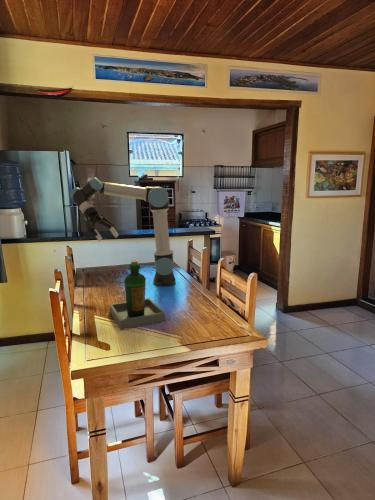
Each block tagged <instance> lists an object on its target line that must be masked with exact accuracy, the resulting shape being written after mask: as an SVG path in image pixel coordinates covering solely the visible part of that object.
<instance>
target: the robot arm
mask: <svg viewBox="0 0 375 500" xmlns="http://www.w3.org/2000/svg"><path fill="white" fill-rule="evenodd" d="M95 194H98V195H99V194H100V195H108V196H115V197H123V198H129V199H136V200H137V199H138V200H144V201H145V202H148V204H149V205H148V206H149V210H150V212H152V219H153V229H154V230H153V231H154V239H155V251H154V253H153V254H154V255H153V257H154V270H155V274H154V277H153V284H154V285H155V286H159V287H163V286H164V287H169V286H173V285H175V284H176V282H177V281H176V276H175V274H174V269H175V263H174V252H173V251H174V250H172V249H171V247H170V245H171V244H170V235H169V224H168V210H169V209H170V201H169V193H168V190H167V189H166V188H164V187H163V186H148V185H147V186H145V187H142V186H134V185H127V184H123V183H122V184H119V183H113V182H106V181H101V180H100V179H98V177H95V176H94V177H92V178H90V179H89V180H88V182H86V184H84V185H83V186H82V187H81V188H80V187H74V188H73V189H71V191H70V192H69V196H70V198H71V199H72V202H74V204H75V206H77V207H78V209H79V211H81V213H82V214H83V215H84V218H83V220H84V222H85V226H86V231H87V232H88V233H90V234H92V235H93V236H94V237H95V238H96V239H97V240H98V242H101V241H102V240H103V237H102V236H101V234H100V233H99V231H98V230H97V229H95V225H96V224H99V225H102V226H104V227H106V228H107V229H109V231H110V232H111V234H112V235H113V237H114V238H115V239H117V238H118V236H119V233H118V232H117V230H116V229H115V223H113V221H111V220H110V219H108V218H107V217H106V216H105V215H104V214H98V213H99V211H98V210H97V209H96V207H94V205H93V203H92V202H91V201H90V200H89V199H91V198H92V197H93V196H95Z"/></svg>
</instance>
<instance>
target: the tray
mask: <svg viewBox="0 0 375 500" xmlns="http://www.w3.org/2000/svg"><path fill="white" fill-rule="evenodd" d="M108 309H109V314H110V315H111V317H112V319H113V321H114V322H115V323H116V326H117V327H118V328H119V330H120V331H122V330H126V329H127V330H128V329H132V328H138V327H143V326H148V325H153V324H157V323H158V324H159V323H163V322H166V311H164V309H162V308H161V307H160V306H159V305H158V304H157V303H156V302H155V301H154V300H152V299H151V297H149V298H148V297H147V298H145V310H144V315H142V316H139V317H130V316H128V315H127V304H126V301H123V302H116V303H111V304H109V307H108Z"/></svg>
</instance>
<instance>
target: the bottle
mask: <svg viewBox="0 0 375 500" xmlns="http://www.w3.org/2000/svg"><path fill="white" fill-rule="evenodd" d="M130 262H131V263H129V266H128V269H129V271H130V273H128V274H127V275H126V276H125V278H124V279H123V280H124V281H123V282H124V292H125V302H126V304H127V315H128V316H130V317H139V316H142V315H144V310H145V299H146V283H147V282H146V276H145V275H143V274H142V273H140V269H141V266H140V263H139V261H138V260H131V261H130Z"/></svg>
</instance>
